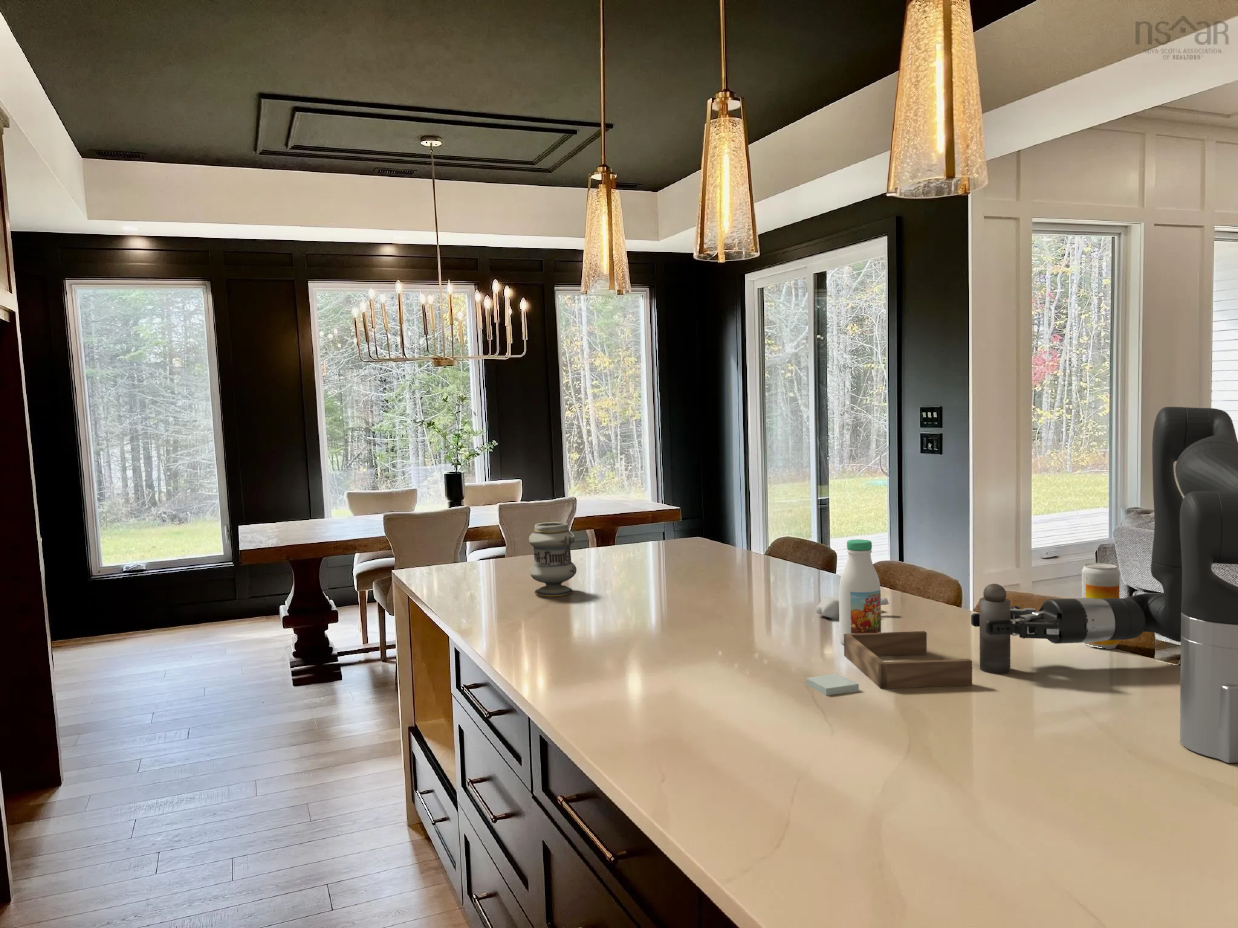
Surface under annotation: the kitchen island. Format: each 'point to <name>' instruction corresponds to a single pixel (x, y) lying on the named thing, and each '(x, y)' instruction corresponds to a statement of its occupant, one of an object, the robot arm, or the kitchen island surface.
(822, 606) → the bunny figurine
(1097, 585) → the beer can
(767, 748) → the kitchen island surface
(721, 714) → the kitchen island surface
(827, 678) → the ceramic tile
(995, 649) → the pepper mill
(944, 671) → the box
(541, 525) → the apothecary jar
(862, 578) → the milk bottle
